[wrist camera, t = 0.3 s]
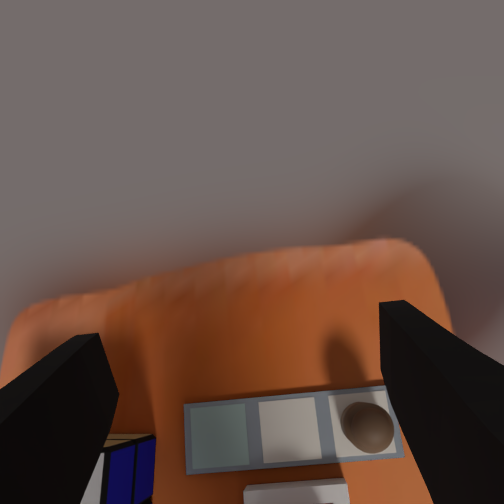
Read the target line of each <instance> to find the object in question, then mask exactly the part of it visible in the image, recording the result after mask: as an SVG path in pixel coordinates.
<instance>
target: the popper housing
mask: <svg viewBox="0 0 504 504" xmlns="http://www.w3.org/2000/svg"><path fill="white" fill-rule="evenodd" d="M243 495H244V504H322V503H333V504H350V501H349V494H348V487H347V483H346V481H345V479H344V478H332V479H319V480H306V481H293V482H281V483H268V484H255V485H247V486H246V488H245V490H244V491H243Z"/></svg>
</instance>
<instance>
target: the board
mask: <svg viewBox="0 0 504 504" xmlns="http://www.w3.org/2000/svg"><path fill="white" fill-rule="evenodd" d="M354 402H366V403H373V404H376V405H379V406H380V407H382V408H383V409H385V410H386V411H387V412H388V414H389V415H390V417H391V419H392V421H393V424H394V437H393V440H392V442H391V444H390V445H389V446H388V448H386V449H385V450H384V451H382V452H379V453H375V454H370V453H365V452H363V451H361V450H359V449H358V448H356V447H355V446H354V445H353V444H352V443H351V442H350V441H349V440H348V439H347V438H346V436H345V435H344V433H343V431H342V428H341V416H342V413H343V411H344V409H345V408H346V407H347V406H348V405H350V404H352V403H354ZM184 427H185V456H186V475H191V474H203V473H216V472H228V471H241V470H253V469H266V468H278V467H290V466H303V465H315V464H328V463H340V462H353V461H365V460H378V459H390V458H402V457H405V456H404V451H403V445H402V440H401V435H400V429H399V424H398V420H397V418H396V415H395V413H394V411H393V408H392V406H391V403H390V399H389V396H388V393H387V390H386V386H385V385H384V386H374V387H363V388H352V389H342V390H331V391H320V392H309V393H299V394H288V395H277V396H267V397H256V398H245V399H234V400H224V401H213V402H202V403H192V404H184Z"/></svg>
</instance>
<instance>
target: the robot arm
mask: <svg viewBox="0 0 504 504" xmlns="http://www.w3.org/2000/svg"><path fill="white" fill-rule="evenodd" d="M379 325H380V366H381V372H382V376H383V379H384V383H385V386H386V390H387V393H388V396H389V399H390V403H391V406H392V408H393V411H394V413H395V415H396V418H397V420H398V422H399V424H400V427H401V429H402V431H403V434H404V436H405V438H406V441H407V443H408V445H409V447H410V450H411V452H412V454H413V456H414V459H415V461H416V463H417V466H418V468H419V470H420V472H421V475H422V477H423V479H424V481H425V484H426V486H427V488H428V491H429V493H430V496H431V498H432V501H433V503H434V504H504V365H502V364H500V363H498V362H497V361H495V360H493V359H492V358H490V357H488V356H487V355H485V354H483V353H481V352H480V351H478V350H476V349H475V348H473V347H472V346H470V345H469V344H467V343H466V342H464V341H463V340H461V339H459V338H458V337H457V336H455V335H454V334H452V333H451V332H449V331H448V330H446V329H445V328H443V327H442V326H440V325H439V324H438V323H436V322H435V321H433V320H432V319H431V318H429V317H428V316H426V315H425V314H424V313H422V312H421V311H419V310H418V309H417V308H415V307H414V306H412V305H411V304H410V303H408V302H407V301H405V300H399V301H389V302H380V303H379ZM118 397H119V392H118V389H117V386H116V383H115V380H114V377H113V374H112V372H111V369H110V366H109V363H108V360H107V357H106V354H105V351H104V348H103V345H102V342H101V339H100V336H99V333H93V334H84V335H76V336H74V337H72V338H71V339H69V340H68V341H66V342H65V343H63V344H62V345H60V346H59V347H57V348H56V349H54V350H53V351H52V352H50V353H49V354H48V355H46V356H45V357H44V358H42V359H41V360H39V361H38V362H37V363H35V364H34V365H33V366H31V367H30V368H29V369H27V370H26V371H25V372H23V373H22V374H21V375H19V376H18V377H17V378H15V379H14V380H12V381H11V382H10V383H8V384H7V385H6V386H4V387H3V388H1V389H0V504H80V503H81V501H82V498H83V496H84V493H85V491H86V488H87V486H88V484H89V481H90V479H91V476H92V474H93V472H94V469H95V467H96V464H97V462H98V459H99V457H100V454H101V452H102V449H103V447H104V444H105V442H106V439H107V437H108V434H109V432H110V428H111V425H112V421H113V418H114V414H115V410H116V406H117V401H118Z"/></svg>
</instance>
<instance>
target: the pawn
mask: <svg viewBox="0 0 504 504" xmlns="http://www.w3.org/2000/svg"><path fill="white" fill-rule="evenodd" d="M341 428H342V431H343V433H344V435H345V436H346V438H347V439H348V440H349V441H350V442H351V443H352V444H353V445H354V446H355V447H356V448H358V449H359V450H361V451H363V452H365V453H370V454H375V453H379V452H382V451H384V450H385V449H386V448H388V446H389V445H390V444H391V442H392V440H393V437H394V424H393V421H392V419H391V417H390V415H389V414H388V412H387V411H386V410H385V409H383V408H382V407H380V406H379V405H376V404H373V403H366V402H354V403H352V404H350V405H348V406H347V407H346V408H345V409H344V411H343V413H342V416H341Z"/></svg>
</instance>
